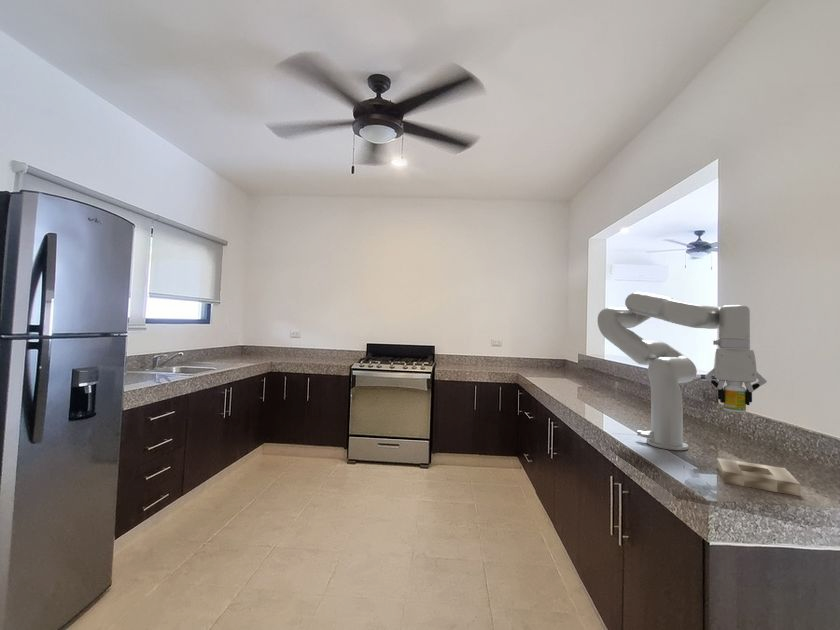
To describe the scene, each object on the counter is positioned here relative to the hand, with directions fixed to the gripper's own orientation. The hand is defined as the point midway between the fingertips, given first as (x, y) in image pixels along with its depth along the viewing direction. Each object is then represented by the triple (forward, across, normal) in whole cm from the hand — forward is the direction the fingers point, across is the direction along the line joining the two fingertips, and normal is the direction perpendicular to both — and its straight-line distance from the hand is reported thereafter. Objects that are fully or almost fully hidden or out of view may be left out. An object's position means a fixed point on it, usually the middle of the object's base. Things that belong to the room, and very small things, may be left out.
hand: (734, 402), depth 120 cm
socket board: (+19, +2, -15) cm, 24 cm away
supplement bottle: (+3, 0, 0) cm, 3 cm away
